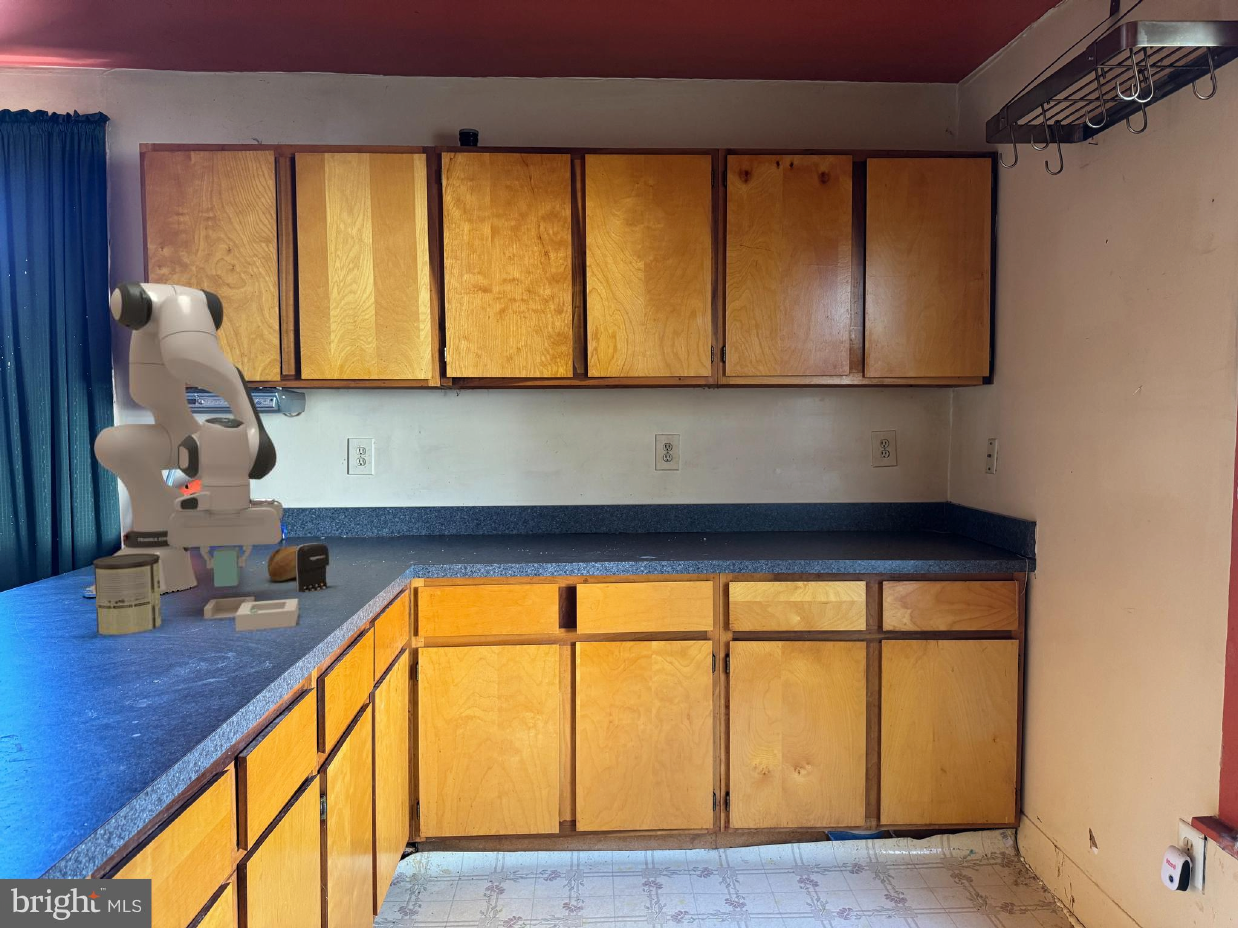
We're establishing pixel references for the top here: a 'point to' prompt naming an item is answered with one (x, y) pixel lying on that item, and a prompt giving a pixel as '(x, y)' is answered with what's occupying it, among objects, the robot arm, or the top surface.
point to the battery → (311, 566)
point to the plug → (226, 567)
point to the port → (267, 615)
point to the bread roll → (282, 564)
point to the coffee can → (127, 593)
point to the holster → (224, 607)
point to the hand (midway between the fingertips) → (226, 567)
